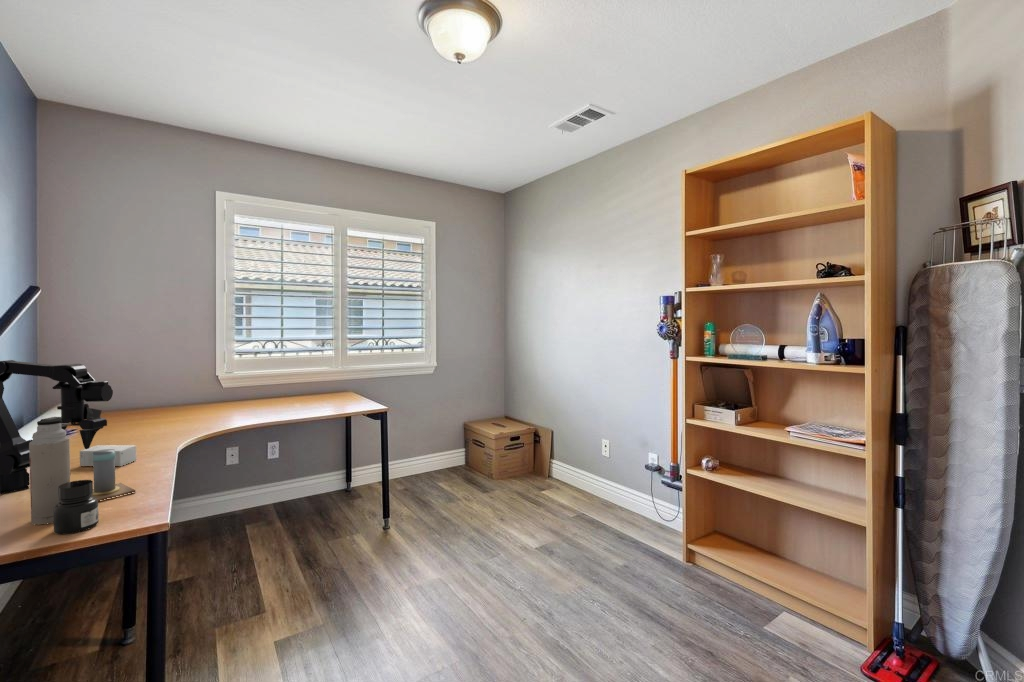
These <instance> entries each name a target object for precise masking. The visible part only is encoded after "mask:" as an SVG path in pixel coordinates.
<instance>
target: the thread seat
mask: <svg viewBox="0 0 1024 682" xmlns="http://www.w3.org/2000/svg"><path fill="white" fill-rule="evenodd" d="M132 492H135V493H136V489H134V488H132V487H130V486H128V485H126V484H125V483H122V482H118V483H115V489H114V490H112V491H108V492H103V493H95V492H94V488H93V494H92V496H93V497H94V498H96V499H97V500H98V501H100V500H104V499H107V498H112V497H116V496H120V495H124V494H128V493H132Z"/></svg>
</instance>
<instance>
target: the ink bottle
mask: <svg viewBox="0 0 1024 682" xmlns="http://www.w3.org/2000/svg"><path fill="white" fill-rule="evenodd" d="M93 489H94V480H91V479H80V480H73V481H70V482H68V483H65V484H62V485H60V486H59V487H58V498H59V501H60V502H59V503H58V504H57V505H56V506H55V507H54V509H53V520H54V523H53V532H54V533H55V534H56V535H68V534H69V535H70V534H75V532H76V533H79V531H80V532H84V531H87V530H89V529H88V528H90V529H92V528H94V527H95V526H97V525H98V524H99V518H100V517H99V502H98V500H97V499H96V498H94V497H93V496H92V494H93ZM97 523H98V524H97ZM96 524H97V525H96ZM93 526H94V527H93ZM91 527H92V528H91ZM86 529H87V530H86ZM83 530H84V531H83Z"/></svg>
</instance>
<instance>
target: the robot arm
mask: <svg viewBox="0 0 1024 682" xmlns="http://www.w3.org/2000/svg"><path fill="white" fill-rule="evenodd" d="M12 375H23V376H34V377H44V378H48V379H51V380H53V381H56V382H58V383H56V384H55V385H54V386H52V388H51V389H53V390H60V405H58V406H57V407H56V408H57V410H60V416H51V417H47V418H41V419H40V420H39V421H42V420H49V419H62V422H61V428H62V429H63V430H65V431H66V429H67V428H68V426H70V427H73V426H75V427H78V426H79V427H80V430H79V434H80V436H81V441H82V445H83V447H84V449H89V448H90V447H91V445H92V443H93V440H94V438H95V436H96V433H97V432H98V431H100V430H101V429H103V428H105V427H107V426H108V420H107V418H105V417H101V415H102V411H103V410H101V409H96V408H90V406H89V403H90V402H91V403H94V402H101V403H102V402H109V401H111V400H112V398H113V393H114V390H113V388H112V386H111V385H110V384H109V381H108V380H103V381H102V380H101V381H96V379H95V378H94V377H93V376H92V375H91V374H90V373H89V371H88V369H87V367H86V366H85V365H84V364H82V363H70V364H69V363H67V364H66V363H65V364H47V363H38V362H27V361H17V360H15V359H9V360H8V359H7V360H0V495H3V494H2V493H4V494H7V492H8V493H13V492H18V491H21V490H27V489H29V488H30V472H28V469H27V468H30V456H29V443H30V442H31V441H33V439H29V440H26V439H25V438H24V437H22V436H21V434H20V431H19V430H18V428H17V426H16V424H15V421H14V419H13V417H12V414H11V413H10V411H9V408H8V406H7V405H6V403H5V401H4V398H3V395H4V391H5V385H4V383H5V382H6V381H7V380H9V379H10V378H11V377H12ZM85 402H86V403H85ZM87 402H89V403H87Z"/></svg>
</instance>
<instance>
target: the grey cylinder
mask: <svg viewBox="0 0 1024 682" xmlns="http://www.w3.org/2000/svg"><path fill="white" fill-rule="evenodd" d="M92 471H93V472H92V473H93V489H94V492H95V493H103V492H108V491H112V490H114V489H115V484H116V467H115V450H114V449H105V450H98V451H95V452H93V470H92Z"/></svg>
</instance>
